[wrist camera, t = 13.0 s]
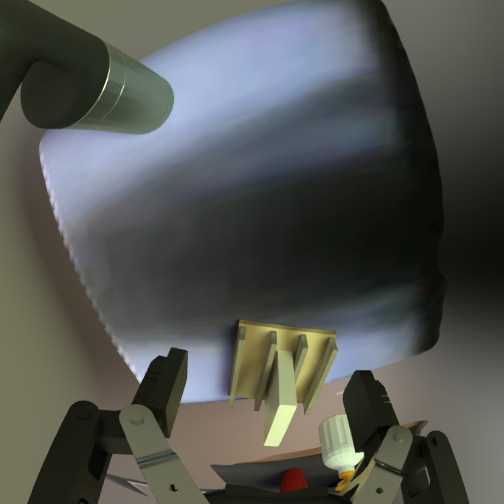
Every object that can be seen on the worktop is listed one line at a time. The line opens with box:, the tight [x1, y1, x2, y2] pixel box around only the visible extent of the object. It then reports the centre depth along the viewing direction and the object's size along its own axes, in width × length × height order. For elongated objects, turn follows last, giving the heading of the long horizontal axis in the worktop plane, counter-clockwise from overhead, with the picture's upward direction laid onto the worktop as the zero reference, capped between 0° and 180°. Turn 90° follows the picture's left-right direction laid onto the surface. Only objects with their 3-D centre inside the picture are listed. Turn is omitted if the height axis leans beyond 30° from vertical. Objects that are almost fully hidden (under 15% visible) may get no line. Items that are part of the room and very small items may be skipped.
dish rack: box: [228, 320, 338, 415], centre depth 44 cm, size 16×18×4 cm
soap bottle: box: [319, 414, 364, 491], centre depth 41 cm, size 9×9×25 cm
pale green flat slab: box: [264, 350, 297, 446], centre depth 40 cm, size 2×12×12 cm, turn 172°
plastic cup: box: [280, 469, 308, 493], centre depth 57 cm, size 11×11×12 cm
